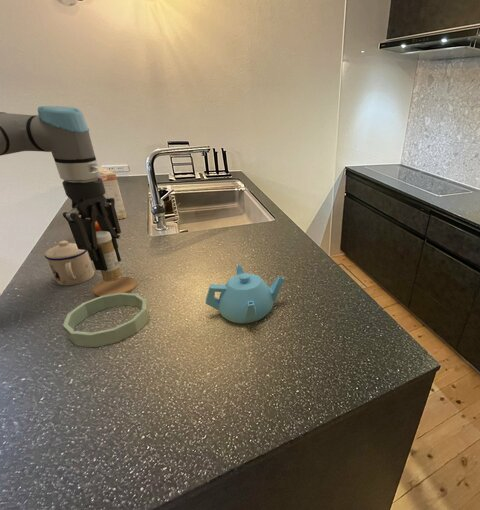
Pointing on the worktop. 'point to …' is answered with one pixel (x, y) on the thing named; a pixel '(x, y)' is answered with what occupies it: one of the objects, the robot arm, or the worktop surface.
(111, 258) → the sprinkles bottle
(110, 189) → the coffeecake box
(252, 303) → the teapot
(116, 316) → the worktop surface
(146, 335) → the worktop surface
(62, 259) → the teacup with lid
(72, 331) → the green ring
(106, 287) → the coaster
